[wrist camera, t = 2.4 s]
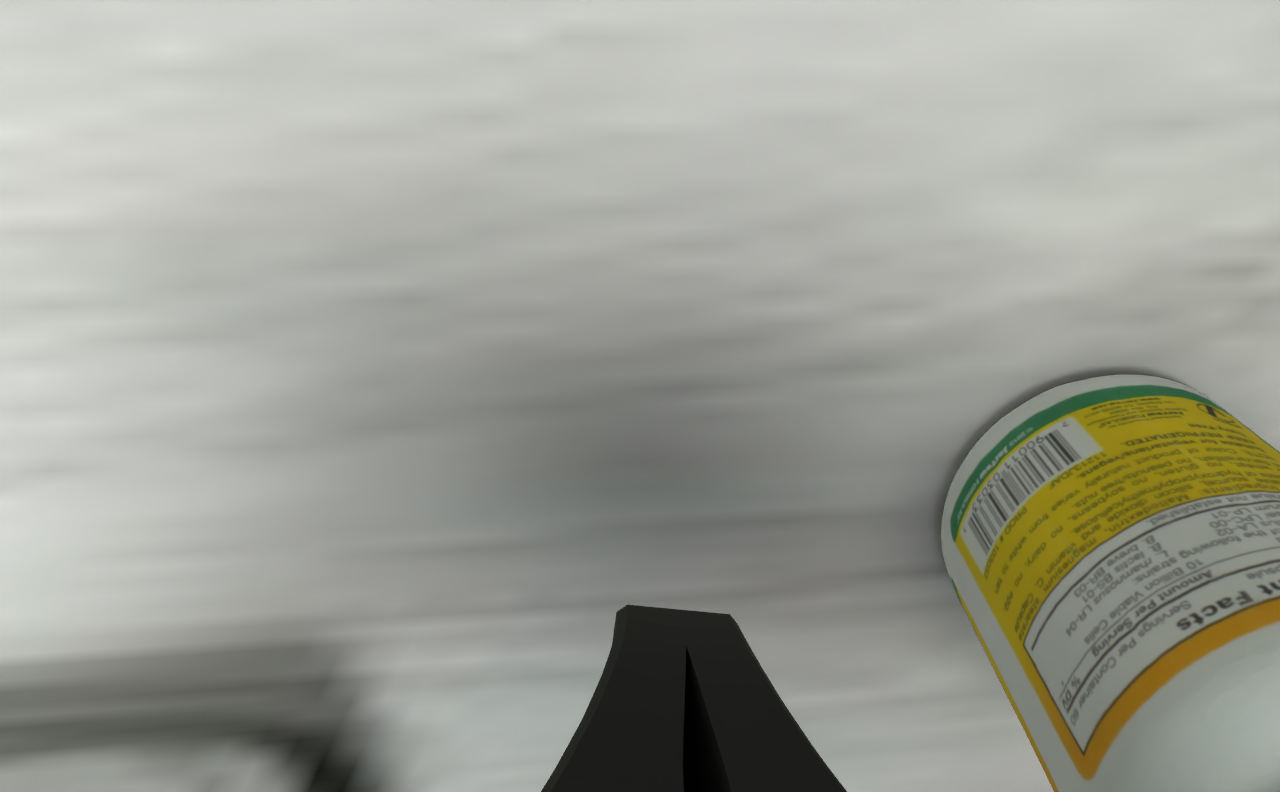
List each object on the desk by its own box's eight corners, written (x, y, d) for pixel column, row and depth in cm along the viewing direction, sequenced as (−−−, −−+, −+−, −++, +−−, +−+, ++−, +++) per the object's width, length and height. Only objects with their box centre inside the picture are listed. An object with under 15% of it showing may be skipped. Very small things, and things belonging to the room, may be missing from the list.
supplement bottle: (934, 383, 17) (1261, 859, 8) (1268, 348, 17) (1969, 797, 8) (933, 651, 19) (1191, 1258, 10) (1229, 623, 19) (1748, 1216, 10)
